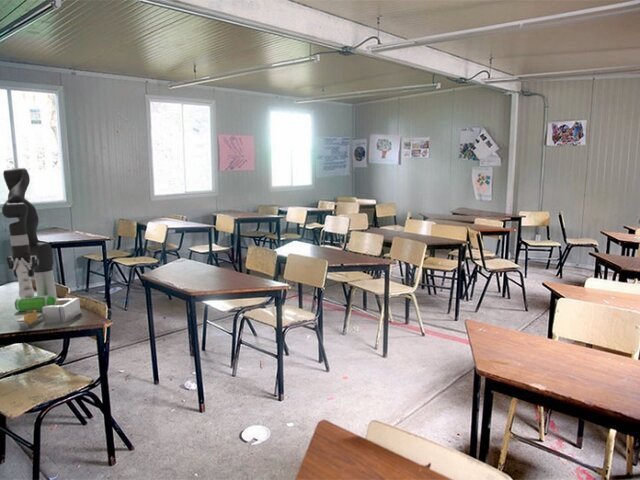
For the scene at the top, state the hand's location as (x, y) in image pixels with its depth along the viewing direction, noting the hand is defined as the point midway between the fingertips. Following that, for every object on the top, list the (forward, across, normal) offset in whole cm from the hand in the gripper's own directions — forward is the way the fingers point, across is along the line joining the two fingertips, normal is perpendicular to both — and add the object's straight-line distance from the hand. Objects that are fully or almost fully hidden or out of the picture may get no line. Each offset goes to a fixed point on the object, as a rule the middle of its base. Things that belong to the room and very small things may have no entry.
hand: (24, 276), depth 236 cm
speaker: (+22, -5, +14) cm, 26 cm away
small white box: (+21, +14, -6) cm, 26 cm away
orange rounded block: (+21, +7, -11) cm, 25 cm away
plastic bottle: (+11, 0, 0) cm, 11 cm away
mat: (+21, 0, 0) cm, 21 cm away
